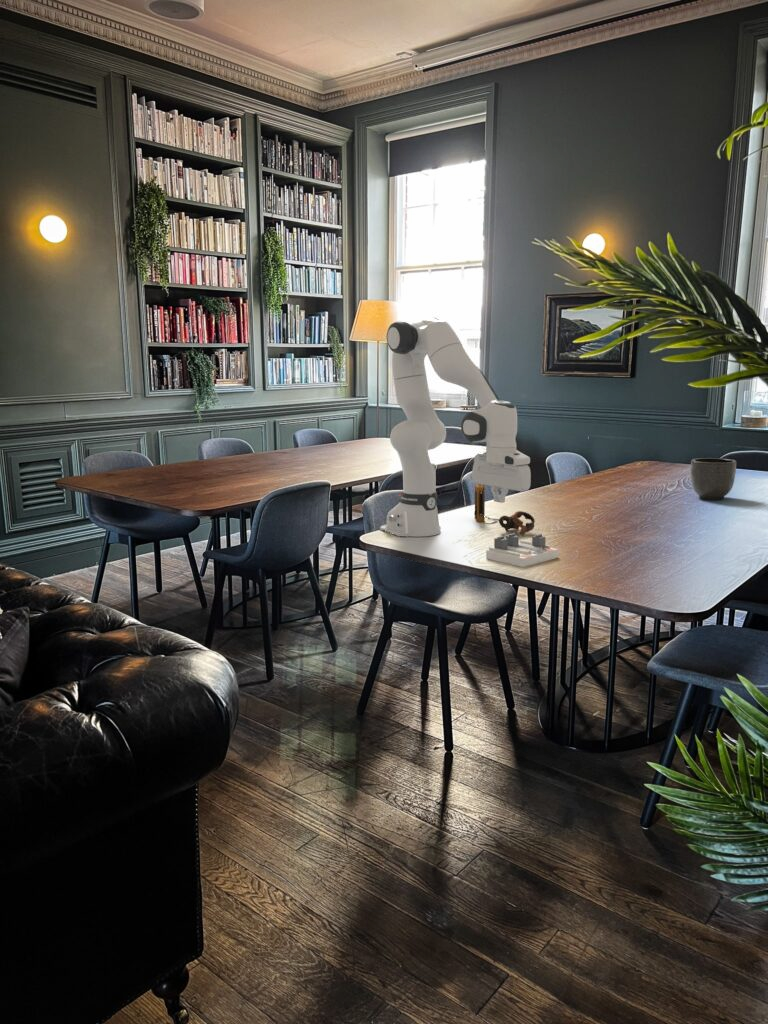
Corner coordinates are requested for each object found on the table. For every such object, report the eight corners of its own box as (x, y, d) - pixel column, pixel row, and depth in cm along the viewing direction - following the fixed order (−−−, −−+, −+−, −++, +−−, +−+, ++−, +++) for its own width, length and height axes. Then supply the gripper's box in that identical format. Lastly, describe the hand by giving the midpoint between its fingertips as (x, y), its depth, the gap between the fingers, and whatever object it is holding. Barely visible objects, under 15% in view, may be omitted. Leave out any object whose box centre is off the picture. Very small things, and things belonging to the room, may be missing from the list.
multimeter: (506, 524, 276) (506, 469, 272) (478, 524, 276) (478, 469, 272) (499, 516, 291) (500, 463, 287) (473, 516, 290) (473, 464, 287)
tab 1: (494, 549, 227) (494, 536, 226) (499, 548, 229) (499, 535, 228) (501, 551, 225) (502, 538, 224) (507, 549, 226) (507, 536, 226)
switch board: (486, 558, 228) (486, 547, 227) (521, 549, 238) (521, 539, 237) (523, 567, 217) (523, 555, 216) (558, 557, 227) (558, 546, 226)
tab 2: (532, 547, 229) (532, 534, 228) (537, 546, 230) (537, 533, 230) (540, 548, 226) (540, 536, 226) (545, 547, 228) (545, 534, 227)
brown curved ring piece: (524, 529, 268) (534, 511, 264) (530, 547, 261) (539, 528, 256) (493, 522, 266) (501, 504, 261) (497, 540, 258) (506, 521, 254)
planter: (683, 495, 329) (685, 458, 326) (724, 494, 328) (726, 457, 325) (697, 502, 312) (700, 463, 309) (740, 501, 311) (743, 462, 308)
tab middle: (505, 546, 230) (505, 533, 229) (510, 545, 232) (510, 532, 231) (513, 548, 228) (513, 535, 227) (518, 547, 229) (518, 534, 229)
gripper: (467, 453, 232) (466, 498, 235) (520, 460, 217) (518, 508, 220) (481, 451, 236) (480, 495, 239) (534, 458, 221) (532, 505, 224)
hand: (499, 501), depth 229 cm, fingers closed
